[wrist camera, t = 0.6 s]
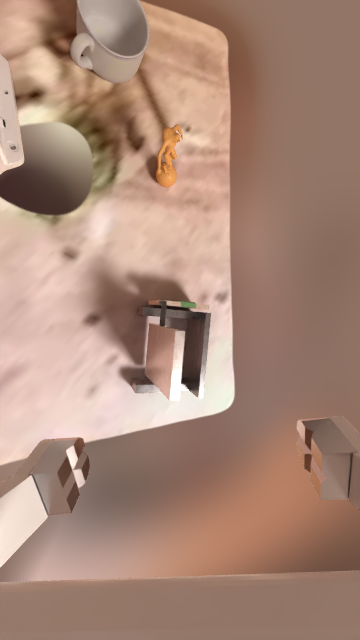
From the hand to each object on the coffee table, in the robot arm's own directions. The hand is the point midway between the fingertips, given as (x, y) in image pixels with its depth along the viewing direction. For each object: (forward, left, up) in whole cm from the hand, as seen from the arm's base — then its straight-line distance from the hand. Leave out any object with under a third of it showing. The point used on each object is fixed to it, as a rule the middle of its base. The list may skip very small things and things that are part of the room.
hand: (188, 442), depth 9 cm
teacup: (-47, -3, -40) cm, 62 cm away
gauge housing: (+3, +13, -40) cm, 42 cm away
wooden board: (+1, +9, -38) cm, 39 cm away
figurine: (-31, +9, -40) cm, 51 cm away
